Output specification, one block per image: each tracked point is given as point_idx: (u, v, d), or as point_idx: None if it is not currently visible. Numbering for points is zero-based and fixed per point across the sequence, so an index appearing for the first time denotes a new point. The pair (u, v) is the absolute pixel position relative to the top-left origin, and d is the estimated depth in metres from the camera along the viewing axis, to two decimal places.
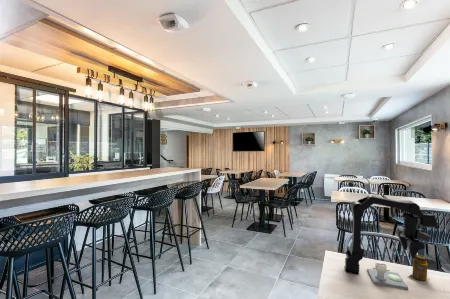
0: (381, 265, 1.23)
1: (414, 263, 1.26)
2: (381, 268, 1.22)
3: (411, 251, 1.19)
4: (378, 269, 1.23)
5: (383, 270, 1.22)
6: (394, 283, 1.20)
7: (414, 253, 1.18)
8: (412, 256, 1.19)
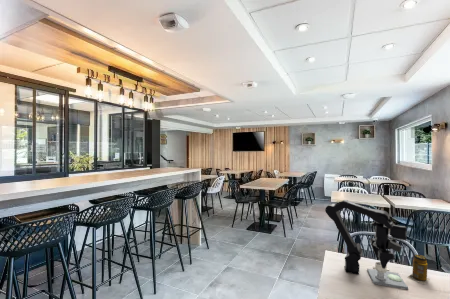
0: None
1: (414, 263, 1.26)
2: (381, 268, 1.22)
3: (382, 261, 1.19)
4: (378, 269, 1.23)
5: (383, 270, 1.22)
6: (394, 283, 1.20)
7: (385, 263, 1.19)
8: (383, 266, 1.20)
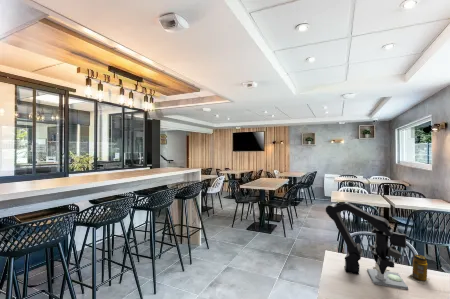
0: None
1: (414, 263, 1.26)
2: None
3: (380, 267, 1.21)
4: (378, 269, 1.23)
5: None
6: (394, 283, 1.20)
7: (383, 268, 1.21)
8: (381, 272, 1.22)
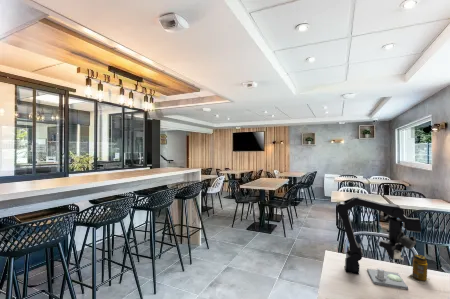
0: None
1: (414, 263, 1.26)
2: None
3: (388, 251, 1.23)
4: None
5: None
6: (394, 283, 1.20)
7: (391, 253, 1.22)
8: (390, 257, 1.23)
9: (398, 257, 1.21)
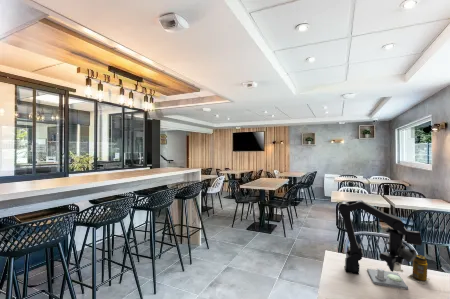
0: None
1: (414, 263, 1.26)
2: None
3: (388, 263, 1.23)
4: None
5: None
6: (394, 283, 1.20)
7: (391, 265, 1.22)
8: (390, 269, 1.23)
9: (398, 269, 1.22)
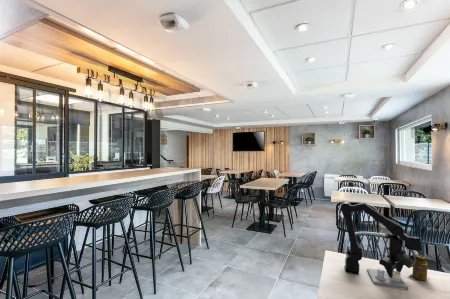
0: (393, 272, 1.24)
1: None
2: None
3: (386, 269, 1.23)
4: None
5: (393, 277, 1.23)
6: (394, 283, 1.20)
7: (390, 272, 1.22)
8: (389, 275, 1.23)
9: (398, 279, 1.22)
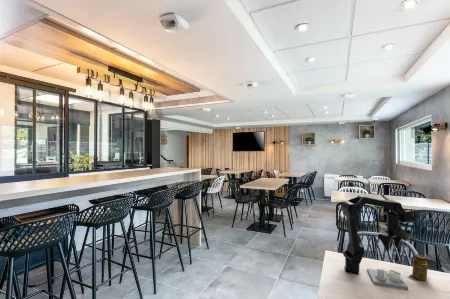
0: (393, 272, 1.24)
1: (414, 263, 1.26)
2: (391, 274, 1.24)
3: (384, 244, 1.32)
4: (389, 275, 1.25)
5: (393, 277, 1.23)
6: (394, 283, 1.20)
7: (387, 246, 1.31)
8: (386, 249, 1.32)
9: (398, 279, 1.22)
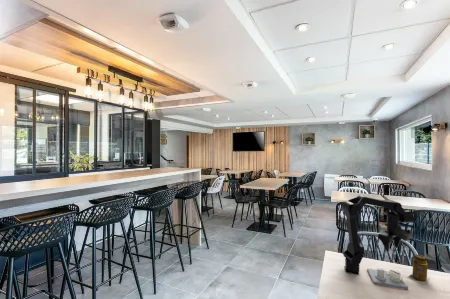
0: (393, 272, 1.24)
1: (414, 263, 1.26)
2: (391, 274, 1.24)
3: (383, 244, 1.32)
4: (389, 275, 1.25)
5: (393, 277, 1.23)
6: (394, 283, 1.20)
7: (386, 246, 1.31)
8: (386, 249, 1.32)
9: (398, 279, 1.22)
